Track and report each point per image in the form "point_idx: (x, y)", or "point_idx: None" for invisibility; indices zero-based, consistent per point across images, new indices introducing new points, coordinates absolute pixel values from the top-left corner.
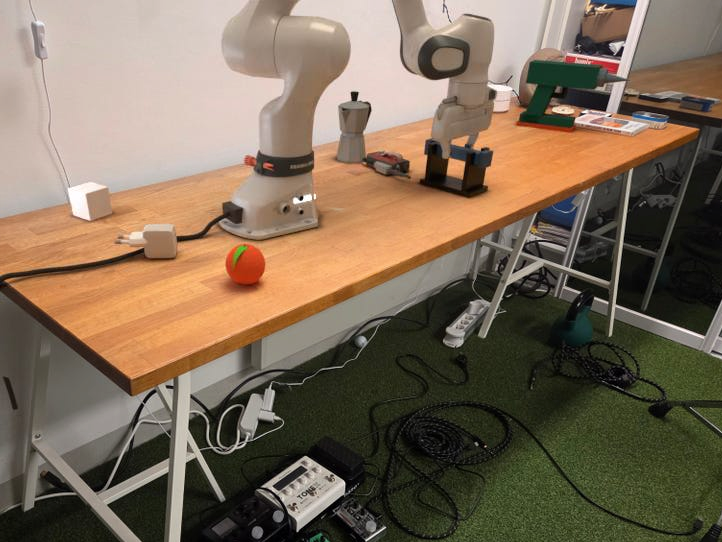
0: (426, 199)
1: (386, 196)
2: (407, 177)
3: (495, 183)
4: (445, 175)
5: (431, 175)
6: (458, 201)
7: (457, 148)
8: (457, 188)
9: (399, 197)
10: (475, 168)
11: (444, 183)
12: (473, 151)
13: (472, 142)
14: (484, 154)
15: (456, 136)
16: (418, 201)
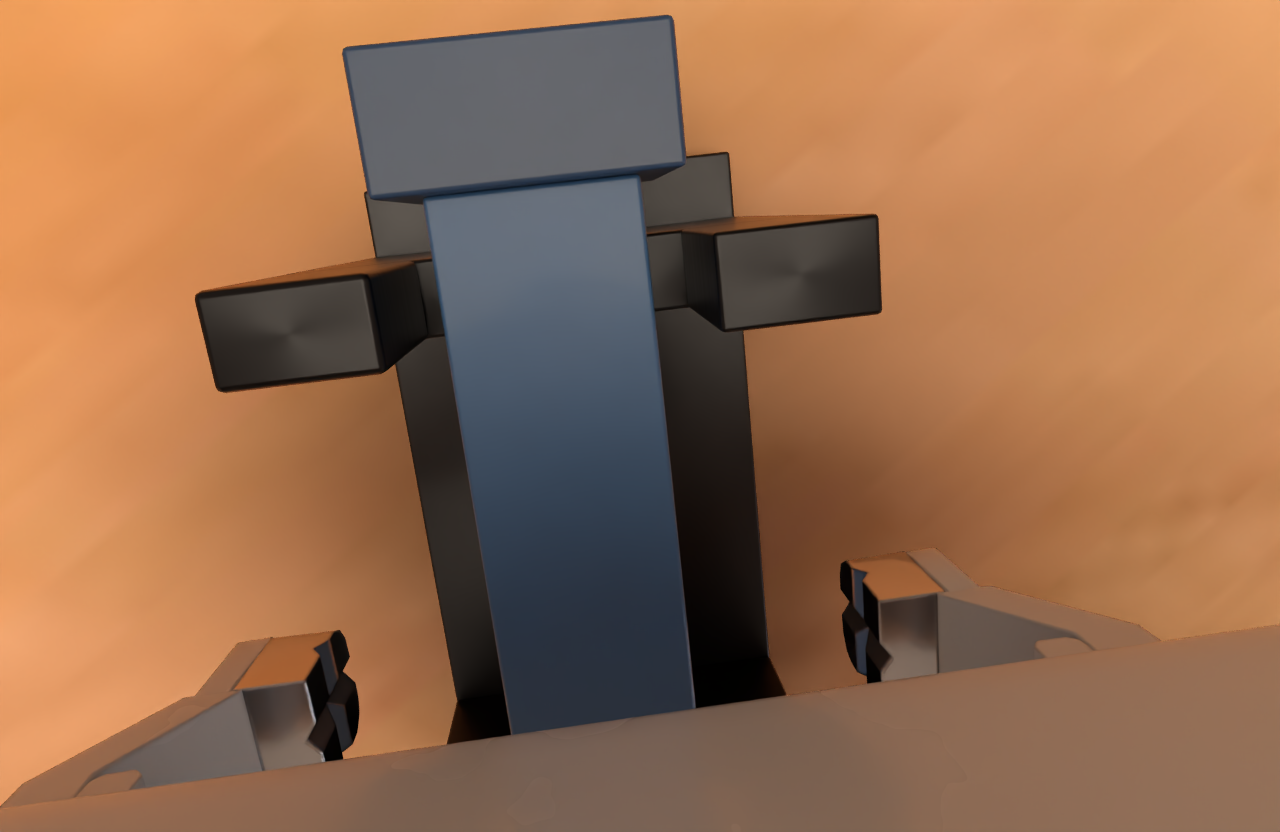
0: (1064, 376)
1: (1243, 624)
2: None
3: (91, 314)
4: (477, 698)
5: (735, 688)
6: (886, 152)
7: (679, 660)
8: (715, 336)
9: (1189, 547)
10: None
11: (692, 524)
12: (604, 368)
13: (216, 731)
14: (673, 30)
15: (1073, 672)
16: (1159, 379)
